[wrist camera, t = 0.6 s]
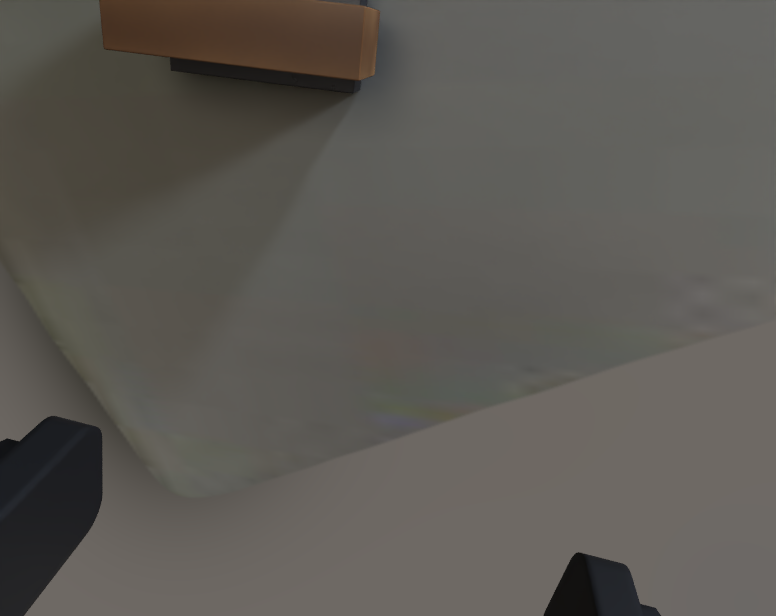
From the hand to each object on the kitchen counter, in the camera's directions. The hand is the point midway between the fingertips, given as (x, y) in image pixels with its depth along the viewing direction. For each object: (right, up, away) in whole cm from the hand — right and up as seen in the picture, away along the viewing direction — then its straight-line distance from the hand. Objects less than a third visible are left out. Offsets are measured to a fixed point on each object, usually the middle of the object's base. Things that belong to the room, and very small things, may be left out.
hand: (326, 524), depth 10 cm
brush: (-5, +19, +22) cm, 29 cm away
